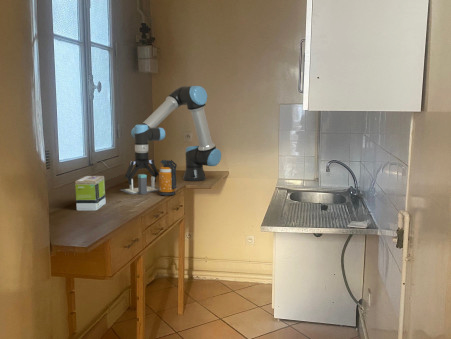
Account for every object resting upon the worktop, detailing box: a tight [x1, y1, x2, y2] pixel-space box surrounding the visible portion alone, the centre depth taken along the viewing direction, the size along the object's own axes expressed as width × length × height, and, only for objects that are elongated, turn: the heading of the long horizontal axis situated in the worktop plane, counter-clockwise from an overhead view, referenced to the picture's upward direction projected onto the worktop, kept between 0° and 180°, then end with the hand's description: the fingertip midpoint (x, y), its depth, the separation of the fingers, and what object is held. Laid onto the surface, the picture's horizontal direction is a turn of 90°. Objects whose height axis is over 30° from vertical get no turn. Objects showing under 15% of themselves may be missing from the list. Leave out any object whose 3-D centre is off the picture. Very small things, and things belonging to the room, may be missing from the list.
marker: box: [137, 173, 148, 195], centre depth 250 cm, size 4×4×11 cm
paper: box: [119, 185, 159, 195], centre depth 261 cm, size 20×16×1 cm
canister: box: [158, 159, 178, 197], centre depth 246 cm, size 9×11×20 cm
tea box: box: [74, 175, 107, 212], centre depth 216 cm, size 15×10×15 cm, turn 178°
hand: (142, 189), depth 251 cm, fingers open, 13 cm apart
